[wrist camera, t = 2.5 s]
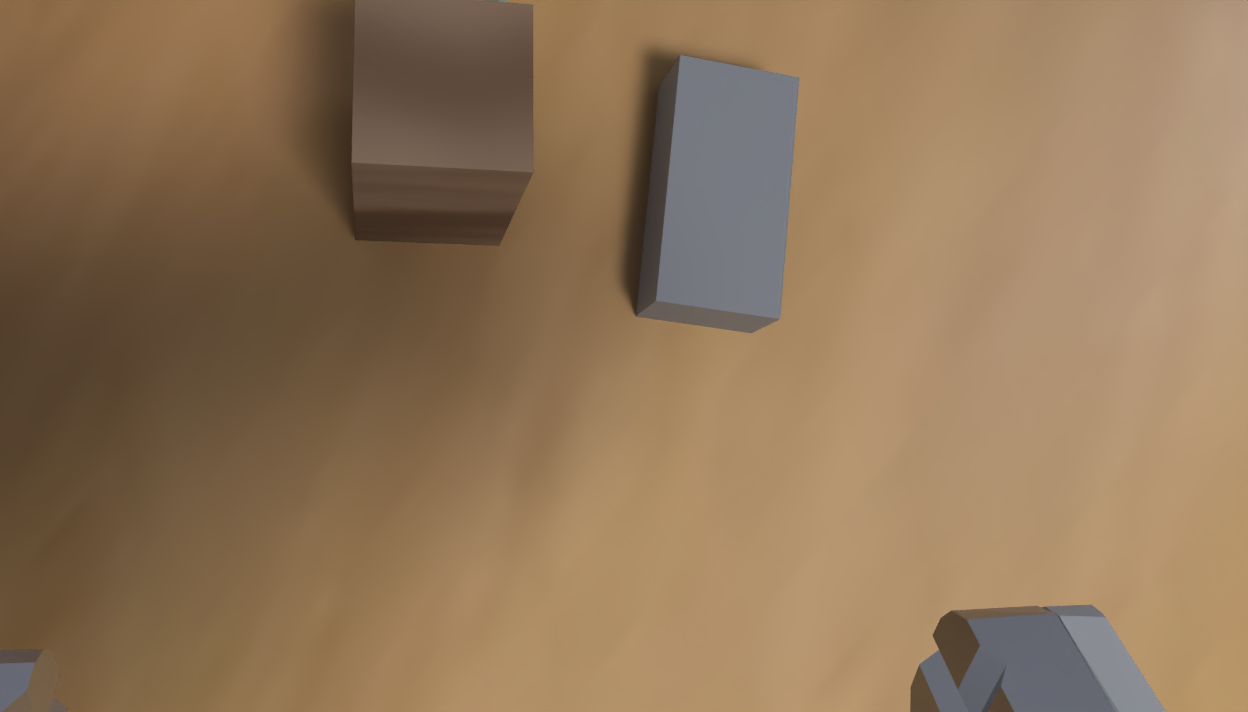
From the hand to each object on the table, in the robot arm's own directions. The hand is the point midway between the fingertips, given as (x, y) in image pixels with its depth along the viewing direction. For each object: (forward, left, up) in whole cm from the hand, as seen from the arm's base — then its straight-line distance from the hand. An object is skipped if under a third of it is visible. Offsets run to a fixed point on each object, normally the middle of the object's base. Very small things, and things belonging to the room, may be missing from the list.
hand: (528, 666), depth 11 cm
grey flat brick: (+15, +2, -25) cm, 29 cm away
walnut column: (+9, +9, -25) cm, 28 cm away
